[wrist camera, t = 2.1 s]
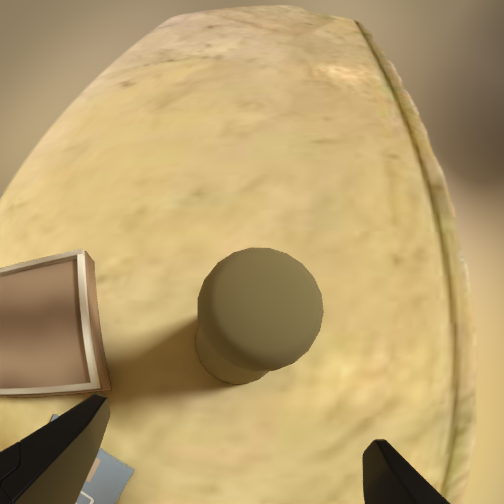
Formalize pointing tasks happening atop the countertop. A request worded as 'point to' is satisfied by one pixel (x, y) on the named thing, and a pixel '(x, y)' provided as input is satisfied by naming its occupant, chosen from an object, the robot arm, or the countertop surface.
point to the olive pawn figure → (256, 315)
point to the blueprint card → (104, 479)
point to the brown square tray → (51, 328)
